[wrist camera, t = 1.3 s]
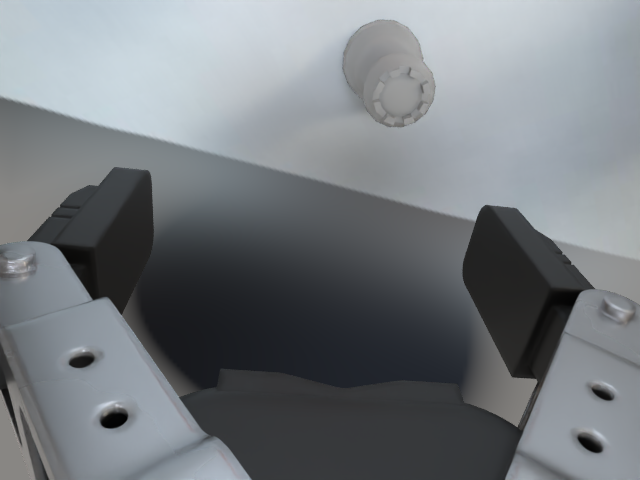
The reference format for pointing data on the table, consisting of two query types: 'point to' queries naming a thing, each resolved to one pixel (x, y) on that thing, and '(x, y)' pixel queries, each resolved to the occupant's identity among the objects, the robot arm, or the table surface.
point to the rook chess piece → (389, 73)
